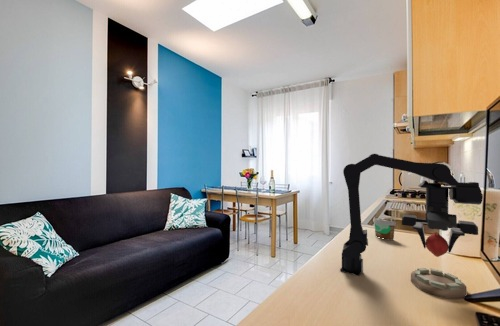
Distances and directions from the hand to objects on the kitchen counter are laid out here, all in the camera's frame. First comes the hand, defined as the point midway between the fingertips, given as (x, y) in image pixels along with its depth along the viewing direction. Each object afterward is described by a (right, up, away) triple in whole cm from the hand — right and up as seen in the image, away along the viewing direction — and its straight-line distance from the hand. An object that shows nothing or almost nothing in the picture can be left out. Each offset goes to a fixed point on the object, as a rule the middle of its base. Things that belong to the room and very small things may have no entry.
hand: (436, 250), depth 75 cm
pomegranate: (0, -2, 0) cm, 2 cm away
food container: (+10, -12, +49) cm, 52 cm away
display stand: (0, -12, 0) cm, 12 cm away
